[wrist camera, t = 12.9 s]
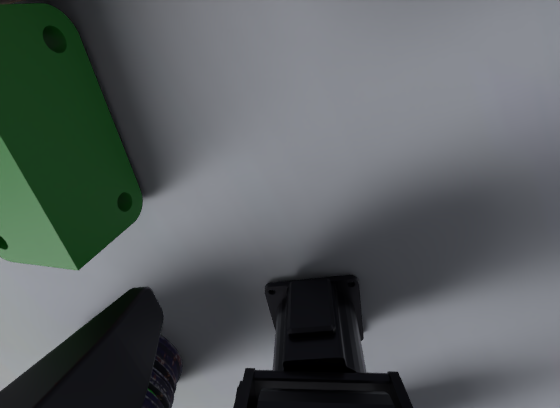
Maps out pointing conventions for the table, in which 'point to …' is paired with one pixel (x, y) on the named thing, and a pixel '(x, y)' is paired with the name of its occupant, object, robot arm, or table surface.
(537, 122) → the table surface
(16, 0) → the socket board
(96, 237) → the clamp
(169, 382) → the storage jar
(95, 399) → the robot arm
